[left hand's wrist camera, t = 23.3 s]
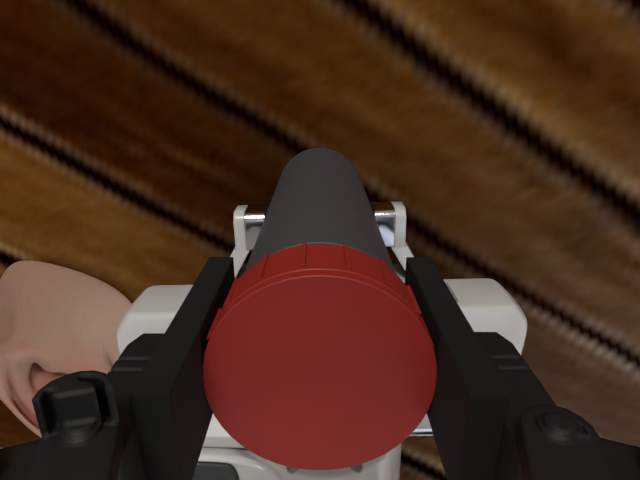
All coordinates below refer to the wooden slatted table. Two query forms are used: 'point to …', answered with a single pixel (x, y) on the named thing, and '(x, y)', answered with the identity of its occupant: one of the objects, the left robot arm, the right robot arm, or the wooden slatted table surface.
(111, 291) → the anatomical model
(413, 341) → the lid
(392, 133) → the wooden slatted table surface
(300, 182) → the jar
